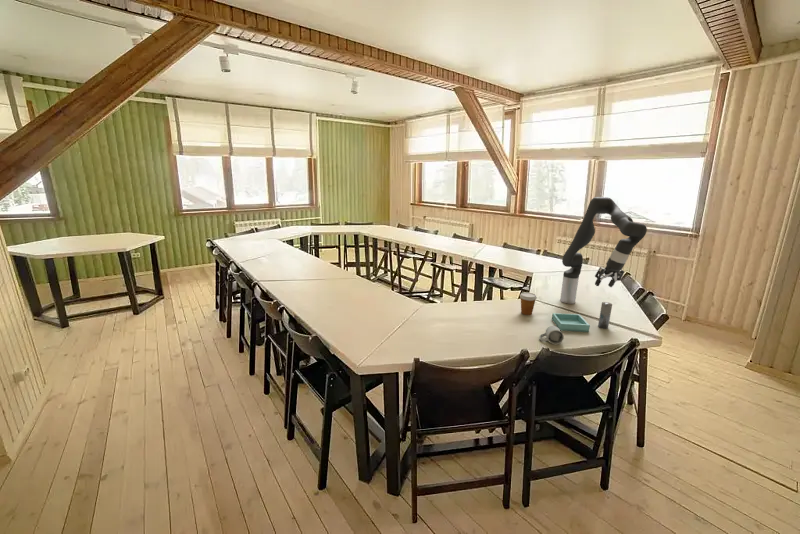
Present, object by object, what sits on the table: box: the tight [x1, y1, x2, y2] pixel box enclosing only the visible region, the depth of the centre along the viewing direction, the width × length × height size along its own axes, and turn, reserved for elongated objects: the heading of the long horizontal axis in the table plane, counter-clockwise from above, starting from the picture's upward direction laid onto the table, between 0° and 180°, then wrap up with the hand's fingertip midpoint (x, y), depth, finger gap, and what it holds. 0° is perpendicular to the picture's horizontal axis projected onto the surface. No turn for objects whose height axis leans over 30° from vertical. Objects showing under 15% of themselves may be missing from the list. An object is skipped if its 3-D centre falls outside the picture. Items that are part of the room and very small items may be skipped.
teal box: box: [551, 312, 591, 333], centre depth 200 cm, size 15×15×4 cm
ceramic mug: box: [539, 325, 565, 345], centre depth 182 cm, size 11×8×8 cm
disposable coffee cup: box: [519, 291, 537, 316], centre depth 216 cm, size 10×10×12 cm
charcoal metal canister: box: [597, 301, 613, 330], centre depth 197 cm, size 5×5×14 cm
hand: (603, 285), depth 189 cm, fingers open, 8 cm apart
